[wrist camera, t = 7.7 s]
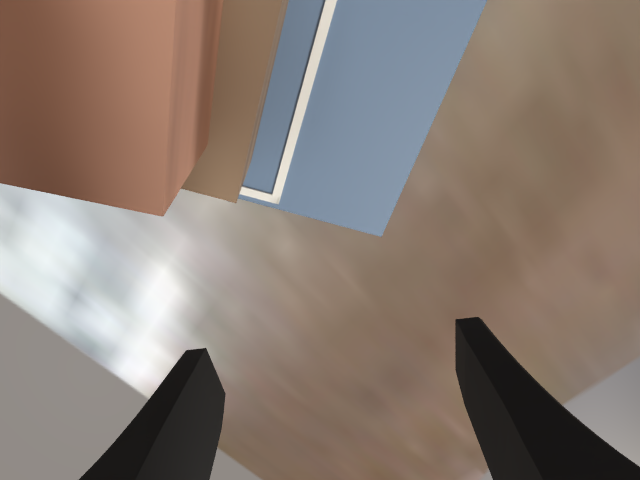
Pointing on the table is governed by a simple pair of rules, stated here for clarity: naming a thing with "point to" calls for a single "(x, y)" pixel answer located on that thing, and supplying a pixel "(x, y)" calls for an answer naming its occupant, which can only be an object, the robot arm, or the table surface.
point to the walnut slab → (238, 95)
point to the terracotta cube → (106, 97)
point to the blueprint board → (354, 104)
